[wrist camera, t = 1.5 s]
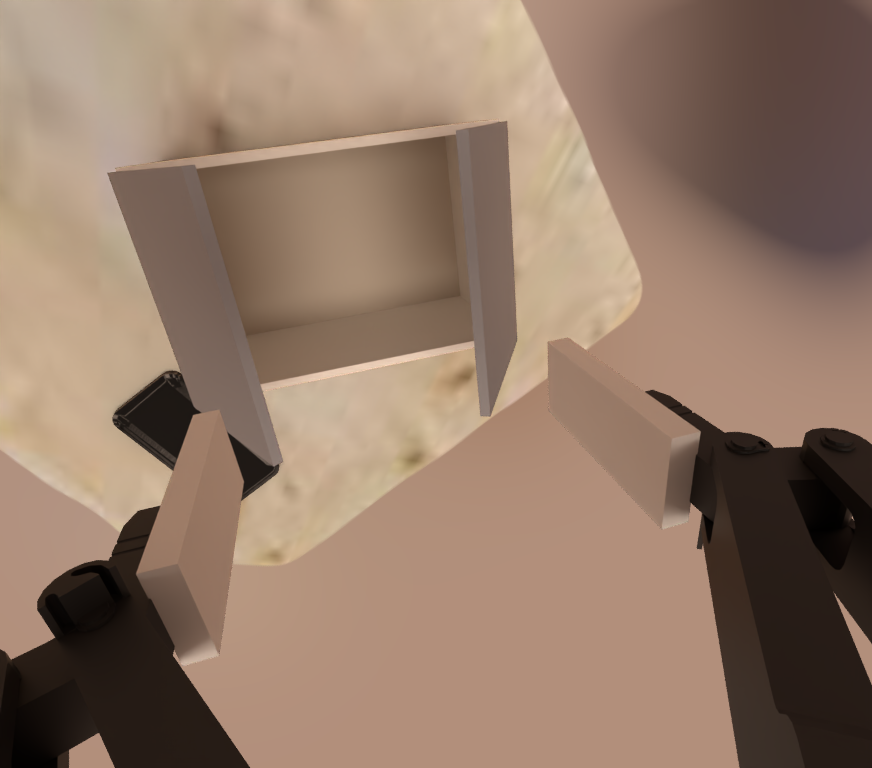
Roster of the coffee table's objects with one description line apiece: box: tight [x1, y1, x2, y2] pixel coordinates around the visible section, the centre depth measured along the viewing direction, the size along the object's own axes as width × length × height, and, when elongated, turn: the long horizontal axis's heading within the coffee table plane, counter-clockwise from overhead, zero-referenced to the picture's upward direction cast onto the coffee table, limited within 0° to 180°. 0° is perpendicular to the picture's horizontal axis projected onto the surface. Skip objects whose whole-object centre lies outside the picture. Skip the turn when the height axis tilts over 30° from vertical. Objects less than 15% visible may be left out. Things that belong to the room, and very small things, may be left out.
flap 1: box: [108, 165, 283, 466], centre depth 30 cm, size 16×12×1 cm
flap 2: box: [456, 121, 517, 416], centre depth 33 cm, size 16×12×1 cm
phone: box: [113, 371, 279, 501], centre depth 52 cm, size 8×1×15 cm
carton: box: [115, 119, 499, 392], centre depth 42 cm, size 16×24×12 cm, turn 98°
